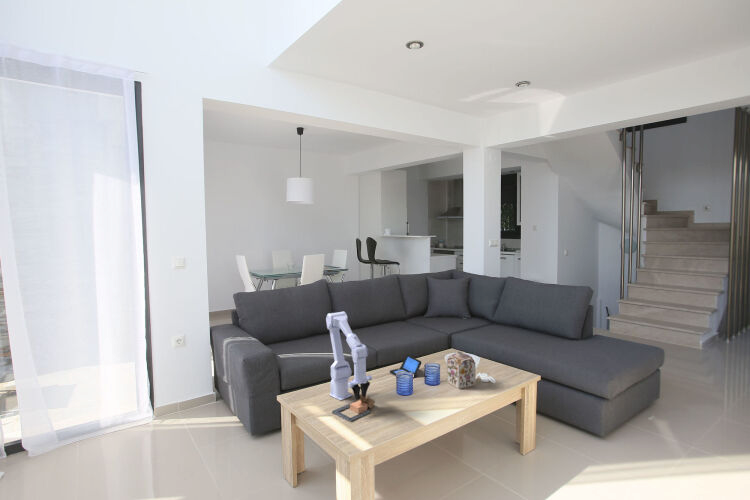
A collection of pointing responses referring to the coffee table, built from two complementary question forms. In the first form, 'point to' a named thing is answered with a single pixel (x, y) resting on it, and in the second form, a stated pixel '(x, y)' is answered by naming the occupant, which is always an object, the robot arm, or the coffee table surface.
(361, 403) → the tile
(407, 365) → the handheld game console
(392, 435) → the coffee table surface
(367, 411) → the frame
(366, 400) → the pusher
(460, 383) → the decorative jar
